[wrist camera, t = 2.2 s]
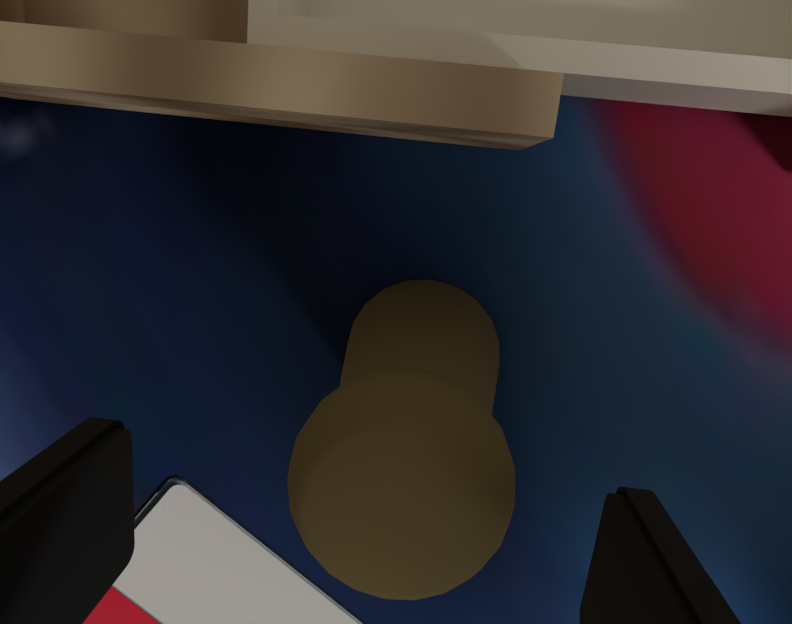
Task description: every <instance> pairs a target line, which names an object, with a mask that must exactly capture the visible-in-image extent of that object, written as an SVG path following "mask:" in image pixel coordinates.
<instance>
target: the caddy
mask: <svg viewBox="0 0 792 624" xmlns="http://www.w3.org/2000/svg"><path fill="white" fill-rule="evenodd" d="M247 30H248V0H0V96H1V97H7V98H13V99H22V100H31V101H41V102H51V103H60V104H70V105H80V106H90V107H99V108H109V109H119V110H128V111H138V112H148V113H158V114H167V115H177V116H187V117H196V118H206V119H216V120H225V121H235V122H245V123H255V124H264V125H274V126H284V127H293V128H303V129H313V130H323V131H332V132H342V133H352V134H361V135H371V136H381V137H391V138H400V139H410V140H420V141H429V142H439V143H449V144H459V145H468V146H478V147H488V148H497V149H507V150H517V151H519V150H522V149H525V148H527V147H530V146H533V145H536V144H538V143H541V142H544V141H546V140H549V139H552V138H554V132H555V126H556V120H557V114H558V108H559V102H560V96H561V90H562V84H563V78H564V73H558V72H547V71H537V70H526V69H515V68H504V67H493V66H482V65H472V64H461V63H450V62H439V61H428V60H417V59H407V58H396V57H385V56H374V55H363V54H352V53H342V52H331V51H320V50H309V49H298V48H287V47H277V46H266V45H255V44H247Z"/></svg>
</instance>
